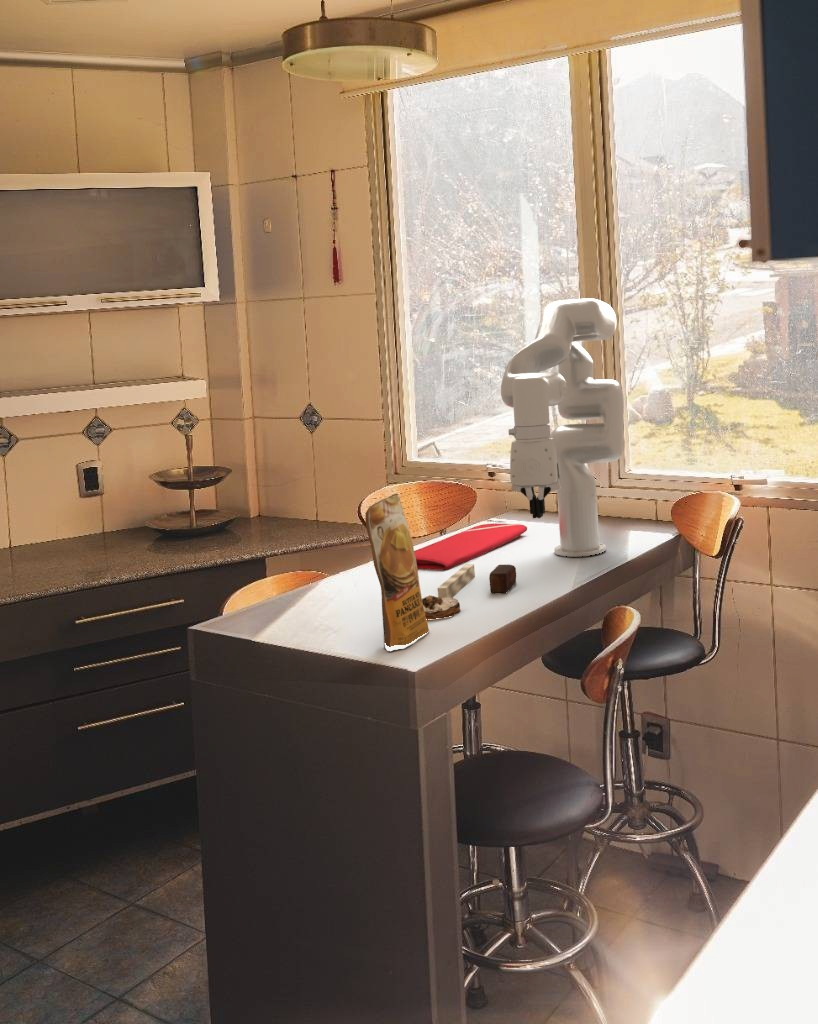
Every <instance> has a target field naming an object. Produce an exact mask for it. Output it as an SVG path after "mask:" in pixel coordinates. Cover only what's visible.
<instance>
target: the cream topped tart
mask: <svg viewBox="0 0 818 1024" xmlns="http://www.w3.org/2000/svg"><path fill="white" fill-rule="evenodd" d="M422 603H423V607H424V611H425V616H426V619H427V621H429V620H428V619H436V618H442V619H445V618H444V617H449V616H452V617H454V616H455V615H458V614H460V613H461V605H460V602H459V600H458V599H456V598H454V597H452V598H451V597H438V596H434V595H427V596H424V597H423V598H422ZM449 618H450V617H449Z"/></svg>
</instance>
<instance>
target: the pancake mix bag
mask: <svg viewBox="0 0 818 1024" xmlns="http://www.w3.org/2000/svg"><path fill="white" fill-rule="evenodd" d="M364 520H365V528H366V532H367V536H368V539H369V543H370V547H371V548H370V549H371V554H372V561H373V566H374V569H375V572H376V576H377V578H378V579H377V580H378V582H379V585H380V591H381V593H380V594H381V614H382V615H381V617H382V628H383V644H384V643H386V645H387V646H389V647H391V646H394V645H406V644H409V643H411V642H412V641H414V640H415V639H417V638H418V637H420V636H422V635H423V634H425V633H427V632H428V631H429V632H430V630H429V624H428V620H426V616H425V611H424V607H423V603H422V591H421V590H422V589H421V588H420V579H419V578H420V577H419V571H418V570H419V569H418V568H417V564H416V557H415V553H414V551H415V549H414V544H413V543H414V542H413V540H412V534H411V530H410V527H409V525H408V522H407V521H408V520H407V519H406V516H405V513H404V509H403V506H402V502H401V500H400V496H399V494H398V493H393V494H392V495H389V496H388V497H386V498H384V499H380V500H379V501H376V502H375V503H373V504H371V505H370V506H369V507H367V510H366V512H365V519H364Z"/></svg>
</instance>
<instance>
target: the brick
mask: <svg viewBox="0 0 818 1024" xmlns="http://www.w3.org/2000/svg"><path fill="white" fill-rule="evenodd" d="M488 581H489V589H490V590H489V591H490V594H491V593H492V594H491V595H494V594H495V593H501V594H507V593H508V592H509V591H510V590H511V589H512V588H513V587H514V586H515V584H516V583H517V568H516V566H515V565H514V564H513V565H512V564H498V565H497V566H496V567H494V569H493V570H492V571H490V573H489V579H488ZM512 586H513V587H512ZM508 590H509V591H508ZM506 592H507V593H506ZM493 593H494V594H493Z"/></svg>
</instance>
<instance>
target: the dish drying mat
mask: <svg viewBox="0 0 818 1024" xmlns="http://www.w3.org/2000/svg"><path fill="white" fill-rule="evenodd" d="M527 531H528V527H527V526H526V525H524V524H519V523H517V524H516V523H496V522H495V523H485V524H479V525H476V526H473V527H471V528H468V529H466V530H463V531H461V532H458V533H455V534H453V535H451V536H448V537H446V538H444V539H441V540H438V541H436V542H433V543H431V544H429V545H426V546H424V547H422V548H421V547H420V548H418V549H416V550H415V549H414V553H415V557H416V564H417V570H419V569H421V570H435V571H448V570H451V569H452V568H455V567H457V566H459V565H462V564H464V563H467V562H469V561H471V560H473V559H475V558H477V557H480V556H482V555H484V554H486V553H489V552H490V550H491V551H493V550H495V549H496V547H497V548H498V547H501V546H503V545H505V544H506V543H509V542H510V541H513V540H515V539H517V538H519V536H521V535H523V534H524V533H526V532H527Z"/></svg>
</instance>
